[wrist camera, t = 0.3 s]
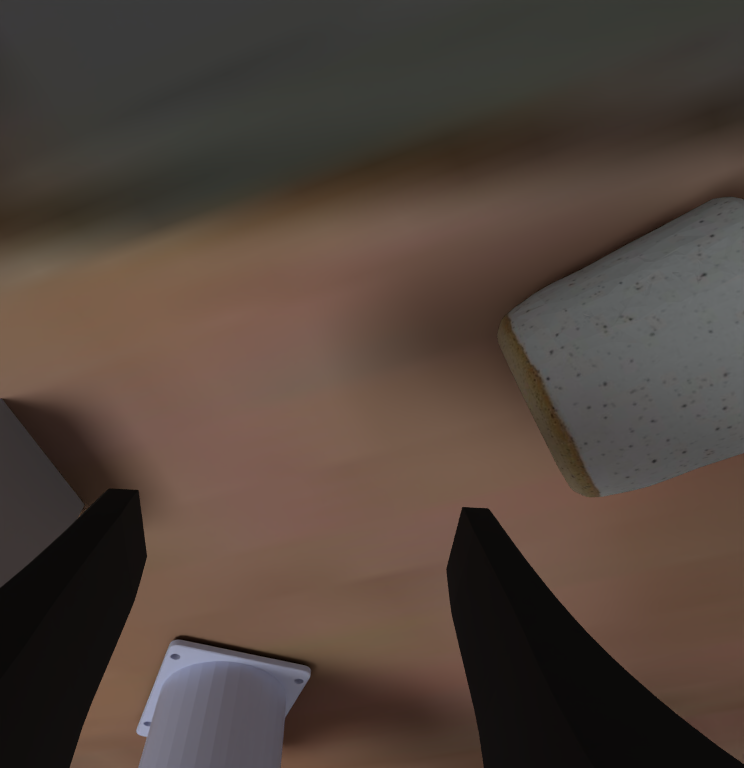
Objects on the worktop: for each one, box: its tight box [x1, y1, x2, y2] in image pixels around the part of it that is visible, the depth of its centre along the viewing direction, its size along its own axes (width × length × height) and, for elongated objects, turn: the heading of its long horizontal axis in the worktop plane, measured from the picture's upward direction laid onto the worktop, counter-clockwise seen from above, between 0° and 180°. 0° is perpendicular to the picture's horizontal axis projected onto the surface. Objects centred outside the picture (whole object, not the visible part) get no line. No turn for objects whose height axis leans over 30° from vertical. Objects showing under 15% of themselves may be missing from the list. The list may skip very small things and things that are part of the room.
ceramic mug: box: [497, 197, 744, 497], centre depth 19 cm, size 11×8×8 cm
